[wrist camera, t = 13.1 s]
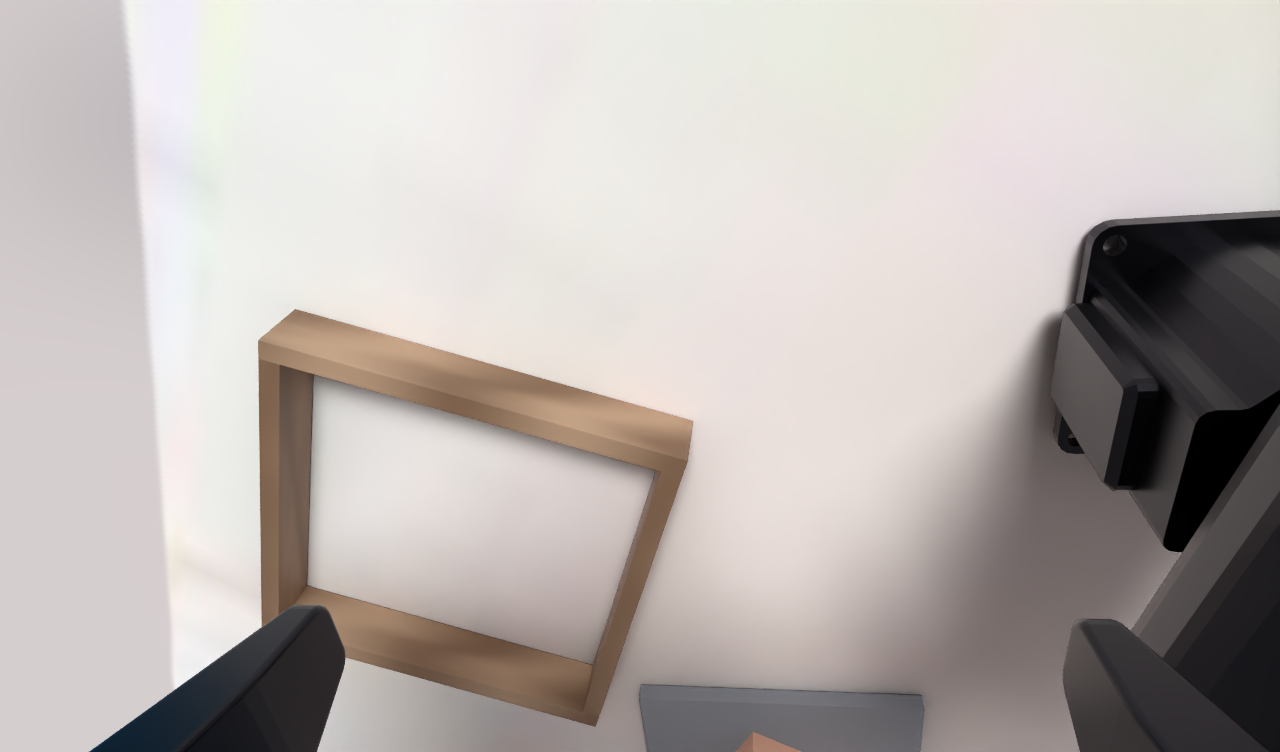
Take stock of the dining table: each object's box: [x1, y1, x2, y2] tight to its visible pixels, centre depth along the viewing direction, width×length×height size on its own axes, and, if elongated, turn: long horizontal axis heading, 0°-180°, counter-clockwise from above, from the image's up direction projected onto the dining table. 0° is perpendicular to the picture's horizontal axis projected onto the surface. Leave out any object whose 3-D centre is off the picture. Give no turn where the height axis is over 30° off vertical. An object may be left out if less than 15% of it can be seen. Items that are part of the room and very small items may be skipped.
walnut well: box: [258, 309, 693, 727], centre depth 26 cm, size 12×12×2 cm
